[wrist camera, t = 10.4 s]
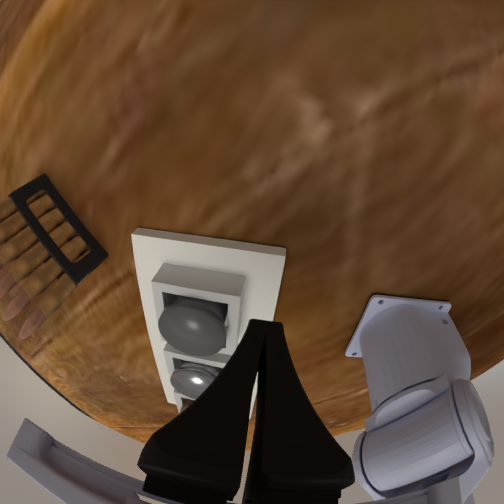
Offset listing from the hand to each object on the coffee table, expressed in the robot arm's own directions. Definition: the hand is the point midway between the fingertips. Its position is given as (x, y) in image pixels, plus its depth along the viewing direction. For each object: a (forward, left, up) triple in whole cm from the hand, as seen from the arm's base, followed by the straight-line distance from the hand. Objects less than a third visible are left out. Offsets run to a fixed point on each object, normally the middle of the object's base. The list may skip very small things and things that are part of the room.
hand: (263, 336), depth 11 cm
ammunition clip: (+19, +1, -10) cm, 22 cm away
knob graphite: (+5, +6, -9) cm, 12 cm away
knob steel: (+5, +14, -9) cm, 18 cm away
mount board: (+5, +15, -10) cm, 18 cm away
